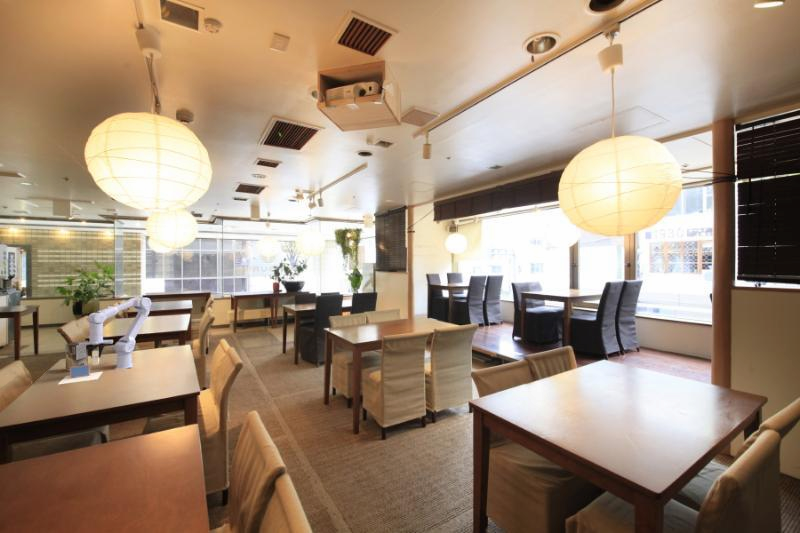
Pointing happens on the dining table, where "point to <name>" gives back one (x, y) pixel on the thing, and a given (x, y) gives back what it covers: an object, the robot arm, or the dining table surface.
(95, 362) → the tall beige block
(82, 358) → the coffee box
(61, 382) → the mat
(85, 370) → the tile
